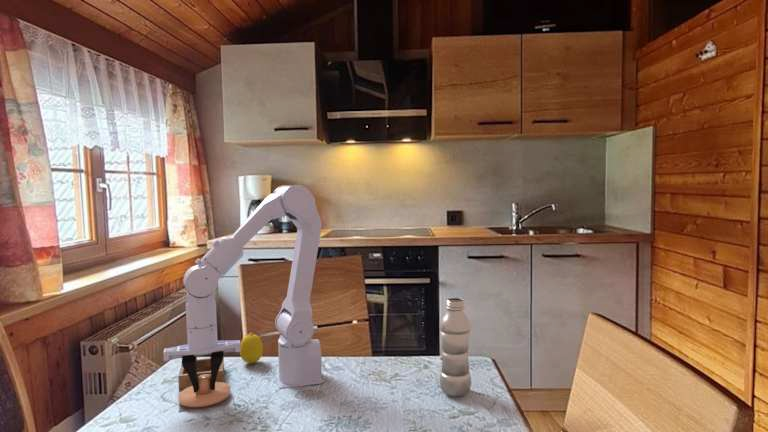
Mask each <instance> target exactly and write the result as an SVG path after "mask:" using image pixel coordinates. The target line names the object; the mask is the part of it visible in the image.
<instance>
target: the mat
mask: <svg viewBox="0 0 768 432" xmlns="http://www.w3.org/2000/svg"><path fill="white" fill-rule="evenodd" d="M228 398H229V396H228V397H227V398H226V399H224V400H223V401H221V402H219V403H216V404H213V405H209V406H204V407H186V406H183V405H181V404H180V403H179V408H178V413H182V412H183V413H185V412H189V411H190V412H192V411H197V410H202V409H204V410H205V409H210V408H215V407H216V408H217V407H223V406H228Z"/></svg>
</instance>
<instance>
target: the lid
mask: <svg viewBox="0 0 768 432" xmlns="http://www.w3.org/2000/svg"><path fill="white" fill-rule="evenodd" d="M197 380H198V392H196V393H194V389H193V386H190V387H188V388H186V389H184V390H180V392H179V393H178V397H177V398H178V403H179V405H180V404H181V405H183V406H186V407H204V406H209V405H213V404H216V403H219V402H221V401H223V400H224V399H226V398H227V397H228V398H229V397H230V395H231V385H229V384H228V383H226V382H224V381H223V382H215V390H211V375H209V374H204V375H200V376H198V377H197Z"/></svg>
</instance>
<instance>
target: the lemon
mask: <svg viewBox="0 0 768 432" xmlns="http://www.w3.org/2000/svg"><path fill="white" fill-rule="evenodd" d="M263 353H264V344H263V342H262V339H261V337H260V336H259V335H257V334H254V333H253V332H249V334H246V335H245V336H244V337H243V338H242V340H240V352H239V354H240V357H241V359H242V360H243V362H244V363H247V364H249V365H253V364H255V363H257V362H258V361H259V360H260V359H261V358H262V356H263Z"/></svg>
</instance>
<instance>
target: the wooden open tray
mask: <svg viewBox="0 0 768 432" xmlns="http://www.w3.org/2000/svg"><path fill="white" fill-rule="evenodd" d="M210 358H211V357H207V358H197V377H198V376H200V375H204V374H209V375H211V362H210ZM224 363H225V362H224V357H223V361H222V363H221V366H220V368H219V371H218V374H217V377H216V382H223V383H224V375H225V364H224ZM180 365H181V366H180V369H179V373H178V376H177V377H178V378H177V379H178V391H183V390H184V389H186V388H188V387H190V386H192V383H191V380H190V378H189V376H188V374H187V372H186V371H185V369H184V368H183V366H182V364H180Z"/></svg>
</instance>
